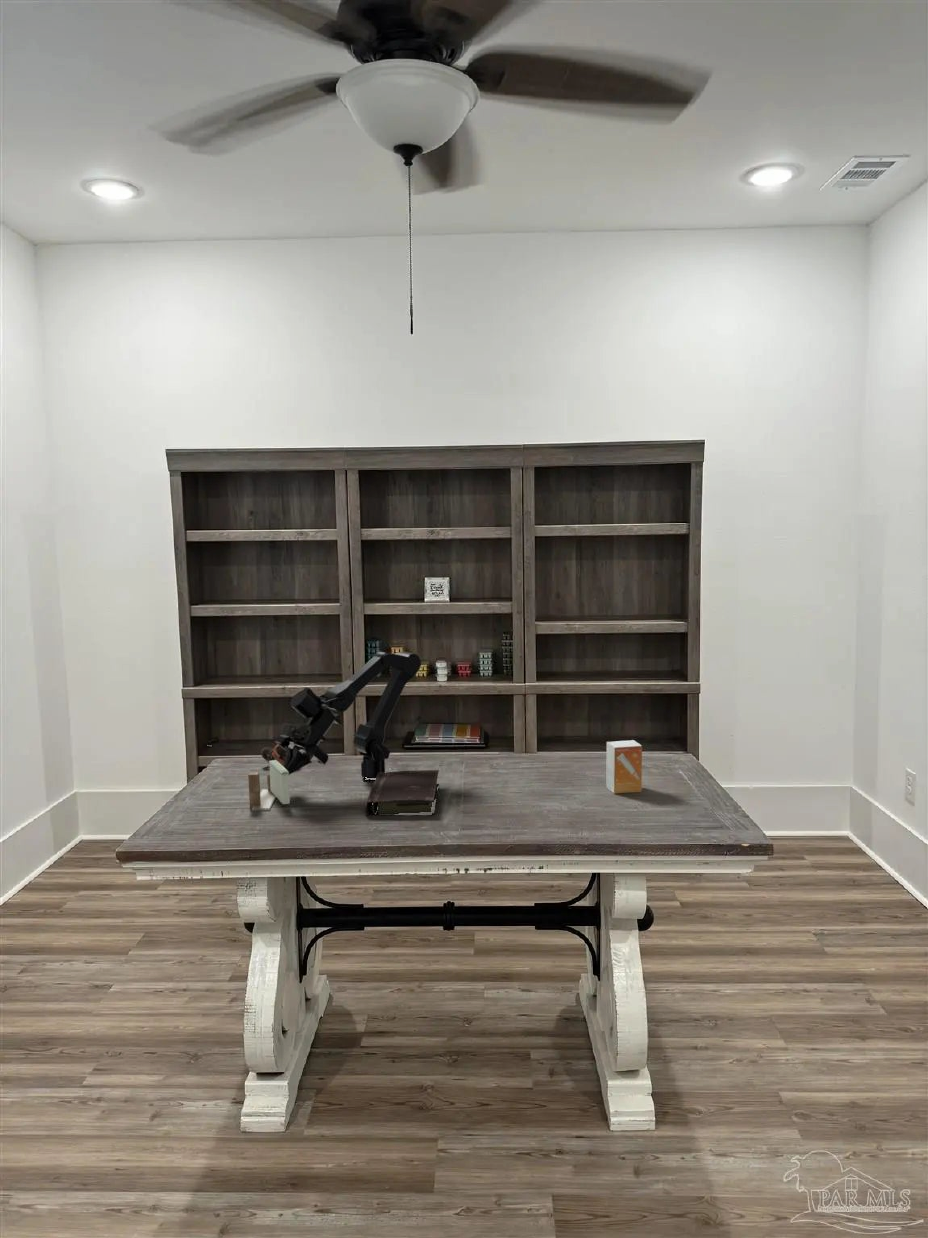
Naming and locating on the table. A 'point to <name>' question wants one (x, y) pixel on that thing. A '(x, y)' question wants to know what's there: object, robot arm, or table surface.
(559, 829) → the table surface
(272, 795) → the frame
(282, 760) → the brown looped band
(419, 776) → the diary
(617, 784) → the small box
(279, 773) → the pale green flat panel
